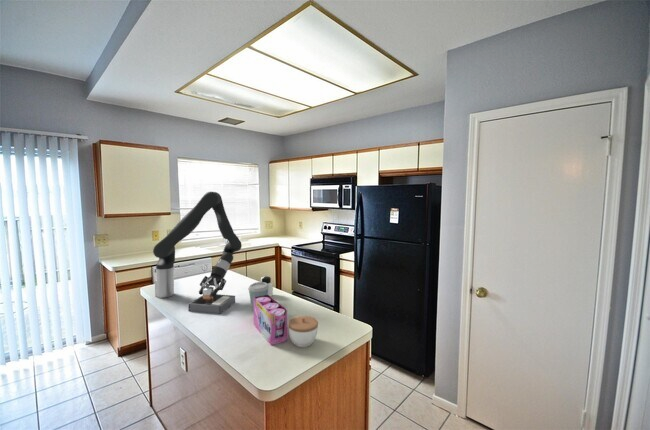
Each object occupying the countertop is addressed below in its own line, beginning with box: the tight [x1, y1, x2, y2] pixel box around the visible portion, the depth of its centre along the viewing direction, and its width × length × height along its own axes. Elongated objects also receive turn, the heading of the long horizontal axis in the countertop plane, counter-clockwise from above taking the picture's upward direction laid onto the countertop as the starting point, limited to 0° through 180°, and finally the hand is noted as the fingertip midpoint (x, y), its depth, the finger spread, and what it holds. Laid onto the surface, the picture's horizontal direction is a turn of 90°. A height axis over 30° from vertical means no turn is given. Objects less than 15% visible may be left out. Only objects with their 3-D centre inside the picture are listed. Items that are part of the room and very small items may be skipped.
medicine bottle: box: [260, 275, 274, 297], centre depth 171 cm, size 7×7×12 cm
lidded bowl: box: [287, 315, 319, 348], centre depth 117 cm, size 13×13×11 cm
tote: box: [188, 293, 236, 315], centre depth 151 cm, size 18×16×5 cm
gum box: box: [253, 295, 288, 346], centre depth 125 cm, size 24×8×14 cm, turn 33°
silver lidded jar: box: [202, 286, 215, 305], centre depth 151 cm, size 6×6×10 cm
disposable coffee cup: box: [248, 281, 269, 313], centre depth 148 cm, size 11×11×15 cm
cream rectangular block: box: [211, 296, 231, 306], centre depth 150 cm, size 5×12×4 cm, turn 171°
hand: (206, 295), depth 150 cm, fingers open, 8 cm apart
